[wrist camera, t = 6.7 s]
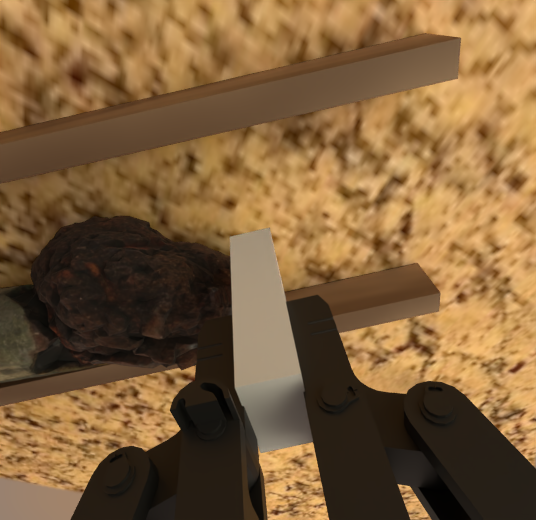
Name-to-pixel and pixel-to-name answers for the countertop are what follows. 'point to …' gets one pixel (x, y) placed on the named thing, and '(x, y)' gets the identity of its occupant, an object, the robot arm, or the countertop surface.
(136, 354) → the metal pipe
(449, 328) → the countertop surface
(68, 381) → the channel rails
